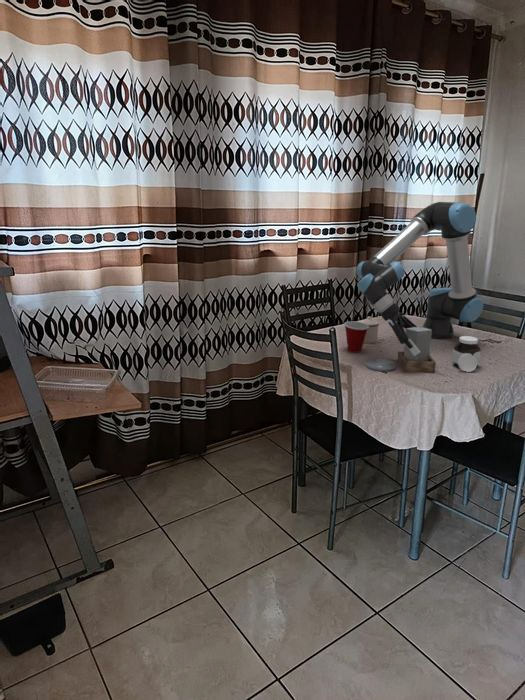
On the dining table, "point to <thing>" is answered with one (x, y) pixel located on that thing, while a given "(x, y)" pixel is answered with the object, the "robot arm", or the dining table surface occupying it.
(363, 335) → the plastic cup
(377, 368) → the slate plate
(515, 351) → the dining table surface
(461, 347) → the spread jar
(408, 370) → the walnut collar
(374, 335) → the teacup with lid
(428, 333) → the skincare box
